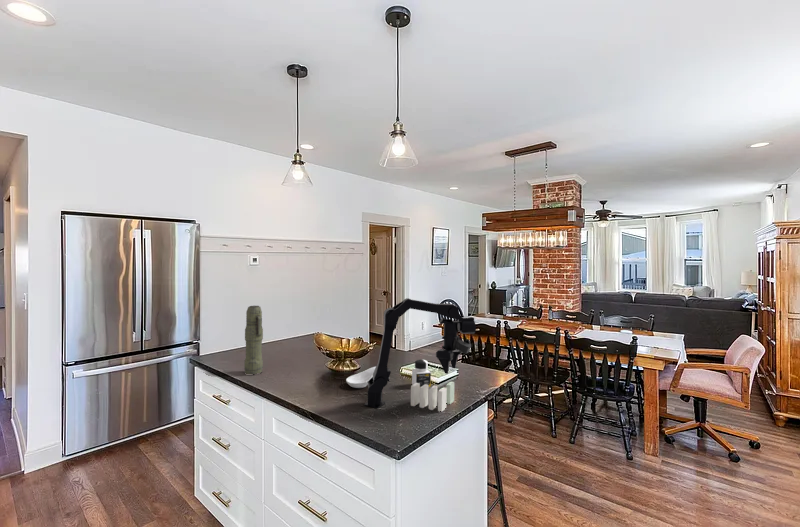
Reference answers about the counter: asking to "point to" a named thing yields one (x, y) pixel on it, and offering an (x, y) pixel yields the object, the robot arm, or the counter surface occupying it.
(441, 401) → the domino
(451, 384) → the pale green domino
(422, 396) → the domino
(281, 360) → the counter surface
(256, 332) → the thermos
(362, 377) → the spoon rest
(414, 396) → the domino
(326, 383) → the counter surface
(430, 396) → the domino
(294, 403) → the counter surface
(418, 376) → the medicine bottle
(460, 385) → the counter surface
